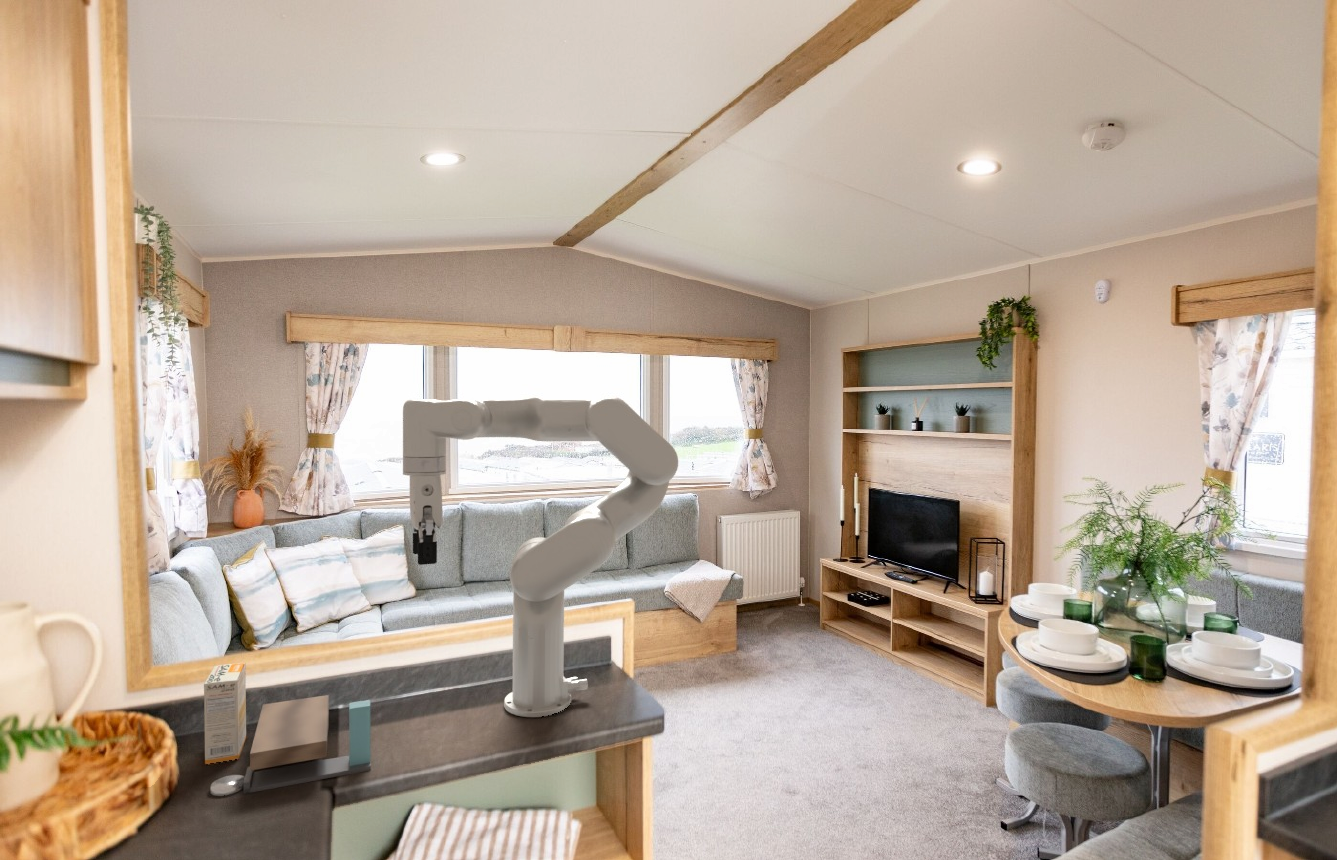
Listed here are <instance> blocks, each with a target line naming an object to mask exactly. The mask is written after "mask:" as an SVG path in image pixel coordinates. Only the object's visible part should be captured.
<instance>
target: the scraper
mask: <svg viewBox="0 0 1337 860" xmlns="http://www.w3.org/2000/svg"><path fill="white" fill-rule="evenodd" d="M348 705H349V709H348V710H349V711H348V713H349V715H348V716H349V717H348V718H349V719H348V721H349V728H348V729H349V734H348V735H349V737H348V739H349V740H348V741H349V745H348V747H349V749H348V750H349V754H348V755H344V756H337V757H334V758H333V757H332V758H327V759H321V760H316V761H311V762H310V761H309V762H303V763H297V764H293V765H288V766H282V767H276V768H271V769H264V770H258V771H255V770H250V765H249V766H247V768H246V772H245V775H244V777H245V779H244V783H243V787H244V788H243V795H244V794H250V793H255V792H260V791H267V790H271V789H278V788H283V787H287V786H288V787H289V786H293V785H298V784H304V783H308V782H313V781H320V780H324V779H330V778H335V777H340V776H346V775H350V774H357V773H363V772H368V771H371V769H372V766H371V765H372V763H371V699H368V700H367V699H366V700H360V701H354V702H349V704H348Z"/></svg>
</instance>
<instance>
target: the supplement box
mask: <svg viewBox="0 0 1337 860" xmlns="http://www.w3.org/2000/svg"><path fill="white" fill-rule="evenodd" d="M246 667H247V666H246V662H240V663H239V662H238V663H228V664H219V665H215V666H213V667H212V669H211V671H210V673H209V674H208V676H207V678H206V680H205V681H204V684H203V696H204V698H203V700H204V701H203V703H204V704H203V705H204V708H203V709H204V712H203V713H204V715H203V716H204V764H205V765H206V764H208V765H211V764H210V763H214V764H217V763H216V762H221V763H224V762H223V761H227V762H230V761H229V760H232V761H235V759H237V760H239V759H240V756H241V754H242V751H243V748H244V744H245V741H246V739H247V712H246V711H247V709H246V708H247V705H246V703H247V702H246V701H247V698H246V696H247V695H246V694H247V693H246V692H247V691H246V690H247V688H246V686H247V685H246V680H247V679H246V678H247V677H246V675H247V674H246V673H247V671H246V669H247V668H246Z"/></svg>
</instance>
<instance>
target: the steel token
mask: <svg viewBox="0 0 1337 860" xmlns="http://www.w3.org/2000/svg"><path fill="white" fill-rule="evenodd" d="M244 779H245V775H241V774H231V775H226V776H223V777H220V778H218V779H216V780H213V782H212V783H211V784H210V794H211V795H212V796H216V797H223V796H224V795H225V796H229V795H233V794H236V793H237V792H239V791H241V790H244V787H243V783H244Z"/></svg>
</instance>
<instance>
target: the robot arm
mask: <svg viewBox="0 0 1337 860" xmlns="http://www.w3.org/2000/svg"><path fill="white" fill-rule="evenodd" d="M447 438H448V439H449V438H450V439H455V440H463V441H464V440H465V441H466V440H472V439H475V438H516V439H517V438H518V439H519V438H520V439H527V440H532V441H536V442H599V443H600V444H601V445H602V446H603V447H604V448H605V449H606V450H607V452H609V453H610V454H611V455H613V456H614V458H615V459H617V461H619V462H620V463H621V464H622V465H623V466H624V467H626V468H627V469H628V473H627V476H625V478H624V480H623V481H622V482H620V484H619V485H617V486H616V487H614V488H613V489H611V490H610V491H609V492H607V493H606V494H604V495H603V496H601V497H600V498H598V499H596V500H594V501H593V502H592V503H589V504H588V505H587V506H584V507H583V508H582V509H580V510H577V511H576V512H574V513H572V514H571V515H570V516H569V517H568V519H567V520H566V521H565V523H564V526H563V527H561V528H560V529H558V530H557V531H556V532H554V533H553V534H551V535H549V536H547V537H541V536H538V537H532V538H529V539H528V540H526V541H525V542H523V543H522V544H521V545H520V546H519V547H518V549H517V550H516V552H515V554H514V557H513V559H512V562H511V567H510V570H509V571H510V572H509V580H510V584H511V588H512V590H513V598H512V599H513V603H512V604H513V606H512V691H511V692H509V693H508V694H507V695H506V696H505V697H504V699H503V707H504V709H505V710H506V711H507V712H508V713H509V714H511V715H513V716H519V717H522V718H523V717H524V718H541V717H542V716H544V717H549V716H553V715H552V714H554V713H557V714H559V713H561V712H563V711H565V710H566V709H565V708H567V707H568V706H569V705H571V704H572V693H573V692H575V691H584V690H589V689H588V688H589V681H588V679H587V678H584V679H578V677H577V676H573V677H569V678H566V677H565V676H564V656H565V655H564V651H565V650H564V649H565V648H564V643H565V642H564V637H565V636H564V635H565V632H564V630H565V629H564V628H565V626H564V625H565V590H567V589H569V588H570V587H571V586H572V585H575V584H576V583H577V582H579V581H580V580H582V579H583V578H584V577H586V576H588V575H590V574H591V573H593V572H594V571H596V570H597V569H598V568H600V567H601V566H602V565H603V564H604V563H606V561H608V560H609V558H610V557H611V555H612V554H613V552H614V549H615V547H616V542H617V541H619V539H621V538H623V537H624V536H625V535H627V534H628V533H629V532H631V531H632V530H634V529H635V528H637V527H638V526H640V525H641V524H642V523H644V522H646V520H648V519H649V518H650V517H651V516H653V514H654V513H655V512H656V511H657V510H658V508H659V507H660V506H661V504H662V502H663V500H664V498H665V497H666V494H667V491H668V488H669V485H670V481H671V480H672V479H673V478H674V476H676V473H677V470H678V468H679V458H678V454H677V451H676V450H675V448H674V447H673V445H671V443H669V441H667V440H666V439H665V438H664V437H663V436H662V435H661V434H659V432H658V431H656V429H654V428H653V427H652V426H651V425H650V423H649V424H648V422H646V421H645V420H644V419H643V418H642V416H640V415H639V414H638V413H637V412H636V411H635V410H634V409H633V408H632V407H631V406H630V405H629V404H628V403H627V402H626V401H625V400H623V399H621V398H619V397H617V396H609V395H608V396H552V395H550V396H549V395H548V396H543V395H542V396H533V397H530V398H521V399H518V398H517V399H482V398H481V399H478V398H477V399H476V398H457V399H451V400H450V399H449V400H439V399H432V398H431V399H429V398H427V399H421V398H417V399H416V398H413V399H408V400H406V401H405V402H404V404H403V407H402V475H403V476H409V513H410V523H411V525H412V526H413V533H412V554H414V555H417V564H418V565H419V566H423V565H433V564H434V565H435V564H437V562H438V541H437V533H436V531H437V530H436V528H438V530H440V529H442V528H443V526H444V524H443V523H444V522H443V518H444V517H443V491H442V489H443V487H442V479H441V478H442V477H441V476H443V475H445V474H447V471H446V470H447ZM570 703H571V704H570ZM569 707H570V706H569ZM569 707H568V708H569ZM564 709H565V710H564ZM562 710H563V711H562ZM560 711H561V712H560ZM558 712H559V713H558ZM548 715H549V716H548ZM554 715H555V714H554Z"/></svg>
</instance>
